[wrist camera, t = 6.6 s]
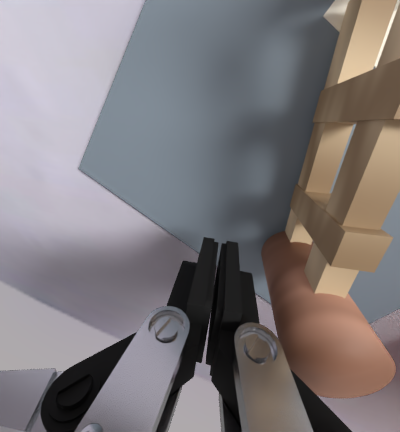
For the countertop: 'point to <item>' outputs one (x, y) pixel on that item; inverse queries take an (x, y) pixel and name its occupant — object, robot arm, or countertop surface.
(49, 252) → the countertop surface
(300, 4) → the card
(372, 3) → the fence panel
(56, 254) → the countertop surface
